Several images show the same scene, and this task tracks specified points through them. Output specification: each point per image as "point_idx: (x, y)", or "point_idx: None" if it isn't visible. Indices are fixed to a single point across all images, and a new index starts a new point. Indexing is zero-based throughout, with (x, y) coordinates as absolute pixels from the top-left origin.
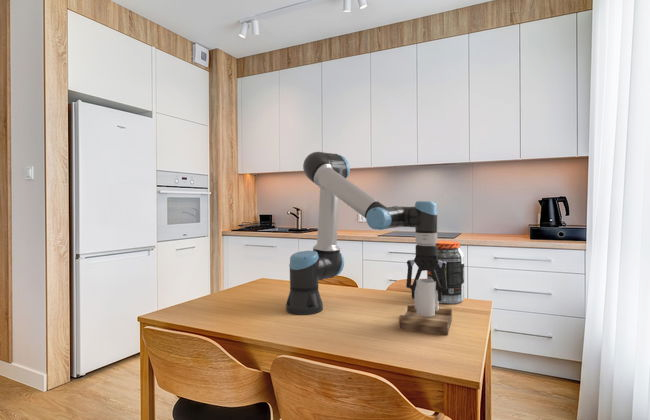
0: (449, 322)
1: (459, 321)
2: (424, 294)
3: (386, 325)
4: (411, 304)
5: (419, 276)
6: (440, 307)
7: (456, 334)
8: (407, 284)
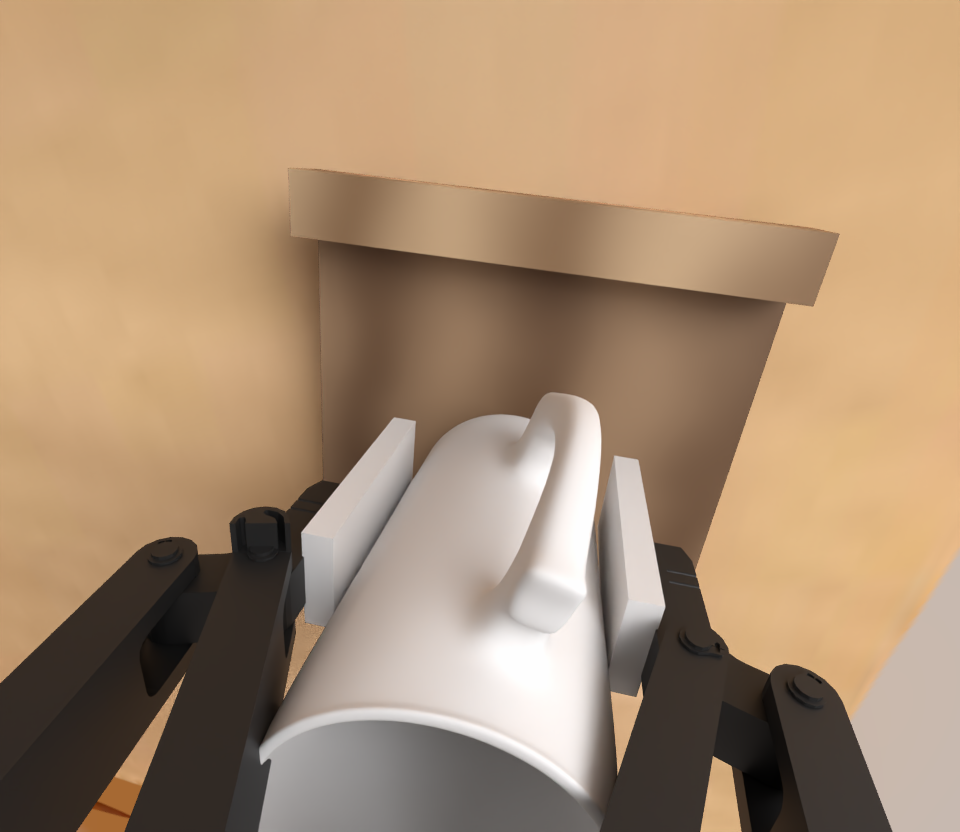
0: (716, 498)
1: (861, 242)
2: (454, 747)
3: (250, 471)
4: (327, 188)
5: (246, 821)
6: (683, 241)
7: (735, 569)
8: (152, 659)
